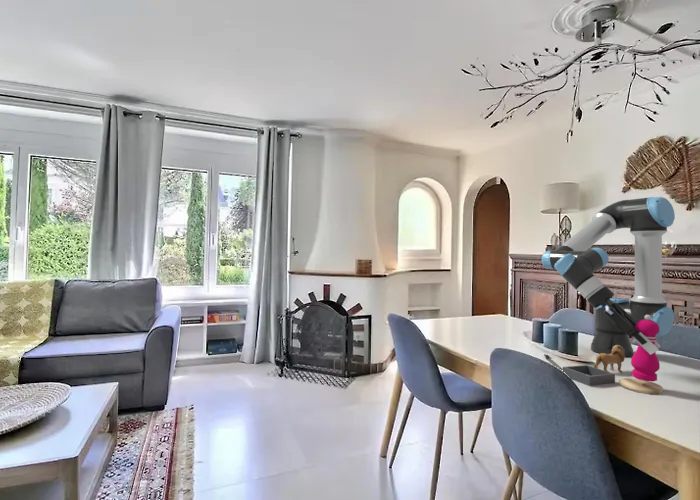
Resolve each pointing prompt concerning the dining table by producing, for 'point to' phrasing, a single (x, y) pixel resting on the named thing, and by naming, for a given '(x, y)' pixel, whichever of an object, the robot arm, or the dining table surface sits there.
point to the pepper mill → (642, 359)
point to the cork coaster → (641, 386)
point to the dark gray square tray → (595, 374)
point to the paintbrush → (552, 361)
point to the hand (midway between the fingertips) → (655, 350)
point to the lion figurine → (611, 358)
